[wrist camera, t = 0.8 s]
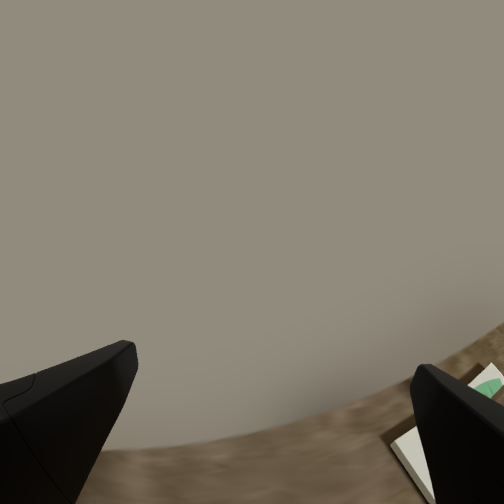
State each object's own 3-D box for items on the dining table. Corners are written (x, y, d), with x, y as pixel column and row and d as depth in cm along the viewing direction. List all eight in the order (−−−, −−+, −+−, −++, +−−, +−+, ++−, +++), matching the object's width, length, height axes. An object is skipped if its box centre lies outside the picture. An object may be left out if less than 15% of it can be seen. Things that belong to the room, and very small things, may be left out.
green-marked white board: (535, 428, 15) (542, 423, 15) (448, 532, 10) (456, 530, 10) (487, 368, 24) (491, 361, 23) (389, 444, 19) (395, 440, 18)
